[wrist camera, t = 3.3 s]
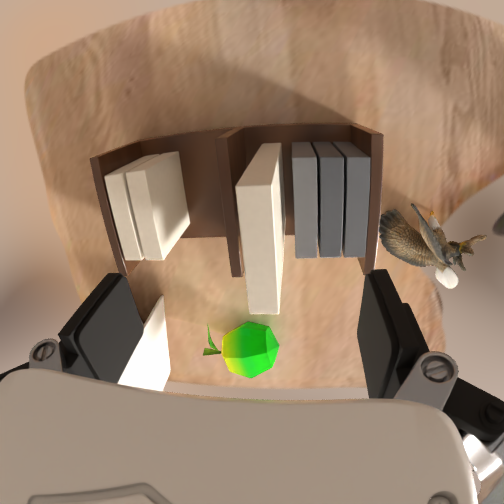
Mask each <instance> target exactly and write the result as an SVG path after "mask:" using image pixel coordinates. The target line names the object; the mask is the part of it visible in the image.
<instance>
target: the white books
mask: <svg viewBox="0 0 504 504" xmlns="http://www.w3.org/2000/svg"><path fill="white" fill-rule="evenodd" d="M105 182H106V187H107V191H108V196H109V200H110V204H111V208H112V212H113V216H114V220H115V224H116V228H117V232H118V236H119V239H120V243H121V247H122V250H123V254H124V257H125V260H142V259H143V258H144V257H145V259H146V260H164V258H165V257H166V256H167V254H168V253H169V252H170V250H171V249H172V247H173V246H174V245H175V243H176V242H177V241H178V239H179V238H180V237H181V235H182V234H183V232H184V231H185V230H186V228H187V227H188V226H189V224H190V220H189V214H188V208H187V202H186V196H185V190H184V184H183V177H182V171H181V164H180V157H179V152H178V151H177V152H169V153H163V154H161V155H159V154H155V155H148V156H144V157H142V158H139V159H137V160H135V161H133V162H131V163H129V164H127V165H125V166H123V167H121V168H119V169H117V170H115V171H113V172H111V173H109V174H107V175H105Z"/></svg>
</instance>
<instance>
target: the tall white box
mask: <svg viewBox="0 0 504 504" xmlns="http://www.w3.org/2000/svg"><path fill="white" fill-rule="evenodd" d="M141 321H142V320H141ZM142 324H143V322H142ZM143 327H144V333H143V336H142V338H141V339H140V341H139V343H138V345H137V347H136V349H135V351H134V353H133V355H132V356H131V358H130V360H129V362H128V364H127V366H126V368H125V370H124V372H123V374H122V376H121V378H120V380H119V382H118V384H121V385H127V386H133V387H139V388H145V389H151V390H158V391H163V388H164V386H165V383H166V381H167V379H168V376H169V374H170V371H171V370H170V361H169V352H168V343H167V332H166V321H165V309H164V295H161V296H160V298H159V300H158V301H157V303H156V305H155V306H154V308H153V310H152V311H151V313H150V315H149V316H148V318H147V320H146V322H145V323H144V324H143Z"/></svg>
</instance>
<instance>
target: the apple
mask: <svg viewBox="0 0 504 504" xmlns="http://www.w3.org/2000/svg"><path fill="white" fill-rule="evenodd" d="M208 341H209V344H210V347H211V348H213V349H215V350H213V349H208V348H205V349H204V353H203V356H204V355H213V354H221V353H222V356H223V358H224V360H225V362H226V364H227V366H228V369H229V371H230V372H233V373H236V374H239V375H242V376H245V377H248V378H253V377H255V376H257V375H259V374H261V373H263V372H264V371H266V370H268V369H270V368H272V367H273V364H274V362H275V359H276V356H277V352H278V349H279V344H278V342H277V340H276V338H275V337H274V335H273V333H272V331H271V329H270V327H269V326H264V325H260V324H256V323H252V322H246V323H245V324H243V325H241V326H239V327H237V328H235V329H233V330H232V331H230V332H228V333H227V334H226V335H224V336H223V340H222V350H221V351H218V349H217V348H216V346H215V345H214V344H213V342H212V340H211V337H210V333H209V327H208Z"/></svg>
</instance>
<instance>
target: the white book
mask: <svg viewBox="0 0 504 504" xmlns="http://www.w3.org/2000/svg"><path fill="white" fill-rule="evenodd" d="M235 188H236V198H237V207H238V216H239V226H240V235H241V244H242V253H243V262H244V271H245V279H246V288H247V297H248V306H249V313H250V314H279V309H280V296H281V283H282V269H283V254H284V238H285V222H286V218H285V197H284V178H283V161H282V145H281V143H264V144H262V145H261V147H260V148H259V150H258V151H257V153H256V154H255V156H254V158H253V159H252V161H251V162H250V164H249V165H248V167H247V169H246V170H245V172H244V173H243V175H242V177H241V178H240V180H239V181H238V183H237V185H236V187H235Z"/></svg>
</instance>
